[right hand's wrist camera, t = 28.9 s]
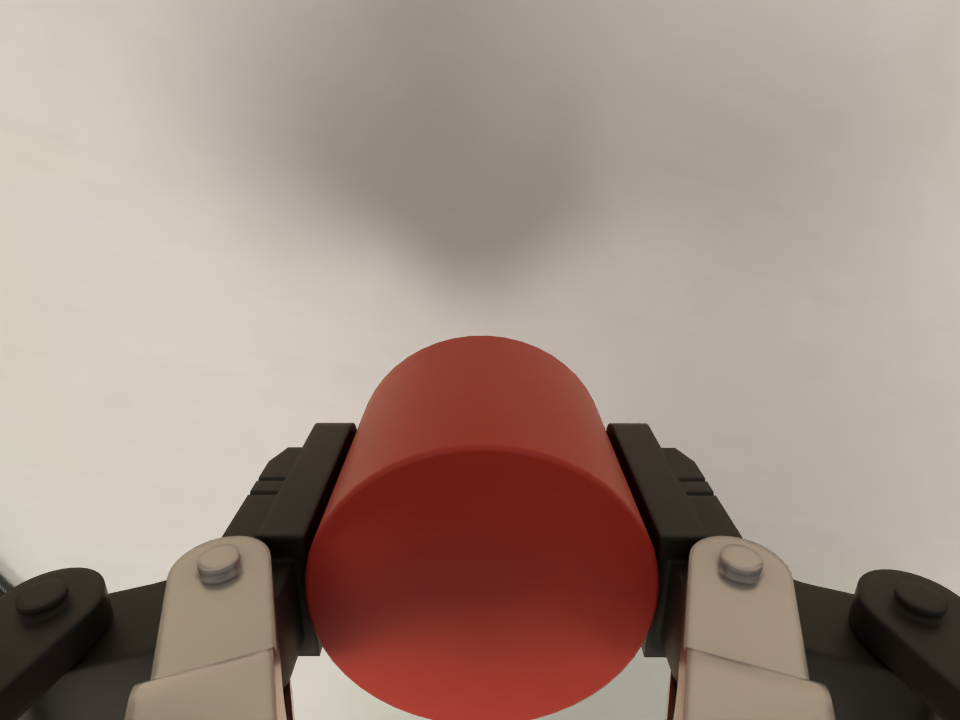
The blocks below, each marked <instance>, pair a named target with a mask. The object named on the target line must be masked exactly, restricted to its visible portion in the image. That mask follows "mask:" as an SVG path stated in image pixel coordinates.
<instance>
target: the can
mask: <svg viewBox="0 0 960 720" xmlns="http://www.w3.org/2000/svg"><path fill="white" fill-rule="evenodd" d="M658 595H659V568H658V564H657V559H656V554H655V550H654V547H653V545H652V542H651V540H650V537H649V535H648V532H647V530H646V528H645V525H644V523H643V520H642V518H641V515H640V513H639V511H638V508H637V506H636V503H635V501H634V498H633V496H632V494H631V491H630V489H629V486H628V484H627V481H626V479H625V476H624V474H623V472H622V469H621V467H620V464H619V462H618V459H617V457H616V455H615V452H614V450H613V447H612V445H611V442H610V440H609V438H608V435H607V433H606V430H605V428H604V425H603V423H602V421H601V418H600V416H599V413H598V411H597V408H596V406H595V403H594V401H593V399H592V397H591V396H590V394H589V392H588V391H587V389H586V387H585V386H584V385H583V383H582V382H581V381H580V380H579V378H578V377H577V376H576V375H575V374H574V373H573V372H572V371H571V370H570V369H569V368H568V367H567V366H566V365H565V364H563V363H562V362H560V361H559V360H558V359H556V358H555V357H553V356H552V355H550V354H548V353H546V352H545V351H543V350H541V349H539V348H537V347H534V346H532V345H529V344H526V343H524V342H521V341H517V340H513V339H508V338H503V337H494V336H468V337H461V338H454V339H450V340H446V341H442V342H439V343H436V344H433V345H431V346H429V347H426V348H424V349H421V350H420V351H418V352H416V353H414V354H413V355H411V356H409V357H408V358H406V359H405V360H404V361H402V362H401V363H400V364H398V365H397V366H396V367H395V368H394V369H393V370H392V371H391V372H390V373H389V374H388V375H387V376H386V377H385V378H384V379H383V380H382V382H381V383H380V384H379V386H378V387H377V388H376V390H375V391H374V393H373V395H372V397H371V399H370V400H369V402H368V404H367V407H366V409H365V412H364V414H363V417H362V419H361V422H360V424H359V427H358V429H357V432H356V434H355V437H354V439H353V442H352V444H351V447H350V449H349V452H348V454H347V457H346V459H345V462H344V464H343V467H342V470H341V472H340V475H339V477H338V480H337V482H336V485H335V487H334V490H333V492H332V495H331V497H330V500H329V502H328V505H327V507H326V510H325V512H324V515H323V517H322V520H321V522H320V525H319V527H318V530H317V532H316V535H315V537H314V540H313V543H312V546H311V548H310V551H309V554H308V559H307V565H306V570H305V596H306V602H307V609H308V613H309V616H310V620H311V623H312V626H313V629H314V631H315V633H316V635H317V637H318V639H319V641H320V643H321V645H322V647H323V648H324V649H325V651H326V652H327V654H328V655H329V656H330V658H331V659H332V661H333V662H334V663H335V664H336V665H337V666H338V667H339V668H340V669H341V671H342V672H343V673H344V674H345V675H346V676H347V677H349V678H350V679H351V680H352V681H353V682H355V683H356V684H357V685H358V686H359V687H361V688H362V689H364V690H365V691H367V692H368V693H370V694H371V695H373V696H374V697H376V698H377V699H379V700H381V701H383V702H385V703H387V704H389V705H391V706H393V707H395V708H398V709H400V710H403V711H406V712H408V713H411V714H413V715H417V716H421V717H424V718H428V719H432V720H531V719H536V718H539V717H543V716H546V715H549V714H553V713H556V712H558V711H560V710H563V709H565V708H568V707H570V706H572V705H575V704H576V703H578V702H580V701H582V700H584V699H586V698H587V697H589V696H591V695H593V694H594V693H595V692H597V691H598V690H600V689H601V688H603V687H604V686H605V685H607V684H608V683H609V682H610V681H611V680H613V679H614V678H615V677H616V676H617V675H618V674H619V673H620V672H622V670H623V669H624V668H625V667H626V666H627V665H628V664H629V662H630V661H631V660H632V659H633V658H634V656H635V655H636V653H637V652H638V650H639V649H640V647H641V646H642V644H643V643H644V641H645V639H646V637H647V634H648V632H649V630H650V628H651V626H652V623H653V619H654V616H655V612H656V609H657V603H658Z"/></svg>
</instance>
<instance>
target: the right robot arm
mask: <svg viewBox="0 0 960 720" xmlns="http://www.w3.org/2000/svg"><path fill="white" fill-rule="evenodd" d="M356 432H357V429H356V426H355V424H354V423H316V424H315V425H314V427H313V429H312V431H311V433H310V434H309V436H308V438H307V440H306V442H305V444H304V445H303V447H288V448H287V449H286V450H284V451H283V452H281V453H280V454H279V455H277V456H276V457H274V458H273V459H272V460H270V461H269V462H268V464H267V465H266V467H265V469H264V470H263V472H262V473H261V475H260V477H259V481H256V483H255V485H254V486H253V488H252V490H251V491H250V495H248V496H247V498H246V499H245V501H244V502H243V504H242V506H241V507H240V509H239V510H238V512H237V514H236V515H235V517H234V518H233V520H232V522H231V523H230V525H229V526H228V528H227V530H226V531H225V533H224V535H223V536H222V538H218V539H214V540H211V541H208V542H206V543H203V544H201V545H199V546H197V547H195V548H193V549H192V550H190V551H188V552H187V553H186V554H184V555H183V556H182V557H181V558H180V559H179V560H177V561H176V563H175V564H174V565H173V566H172V568H171V570H170V572H169V574H168V577H167V580H165V581H162V582H159V583H155V584H151V585H146V586H142V587H137V588H133V589H128V590H124V591H119V592H114V593H110V594H108V592H107V588H106V585H105V581H104V579H103V577H102V576H101V575H100V574H99V573H98V572H96V571H94V570H91V569H88V568H66V569H60V570H55V571H51V572H48V573H45V574H42V575H39V576H36V577H34V578H31V579H29V580H27V581H25V582H23V583H21V584H19V585H18V586H16V587H14V588H12V589H11V590H9V591H8V592H6V593H4V592H3V591H2V590H1V589H0V720H295V716H294V705H293V694H292V686H291V680H290V677H291V675H292V672H293V669H294V666H295V663H296V660H297V657H298V656H320V653H321V650H322V645H321V643H320V641H319V639H318V637H317V635H316V633H315V631H314V629H313V626H312V623H311V620H310V616H309V613H308V609H307V602H306V596H305V570H306V565H307V559H308V554H309V551H310V548H311V546H312V543H313V540H314V537H315V535H316V532H317V530H318V527H319V525H320V522H321V520H322V517H323V515H324V512H325V510H326V507H327V505H328V502H329V500H330V497H331V495H332V492H333V490H334V487H335V485H336V482H337V480H338V477H339V475H340V472H341V470H342V467H343V464H344V462H345V459H346V457H347V454H348V452H349V449H350V447H351V444H352V442H353V439H354V437H355V434H356ZM606 433H607V435H608V438H609V440H610V442H611V445H612V447H613V450H614V452H615V455H616V457H617V459H618V462H619V464H620V467H621V469H622V472H623V474H624V476H625V479H626V481H627V484H628V486H629V489H630V491H631V494H632V496H633V498H634V501H635V503H636V506H637V508H638V511H639V513H640V515H641V518H642V520H643V523H644V525H645V528H646V530H647V532H648V535H649V537H650V540H651V542H652V545H653V547H654V550H655V554H656V559H657V564H658V568H659V595H658V603H657V609H656V612H655V616H654V619H653V623H652V626H651V628H650V630H649V632H648V634H647V637H646V639H645V641H644V643H643V644H642V646H641V647H642V651H643V654H644V657H667V660H668V663H669V666H670V669H671V674H670V680H669V686H668V694H667V705H666V716H665V720H960V597H959V596H958V595H956V594H955V593H953V592H952V591H950V590H949V589H947V588H945V587H943V586H942V585H940V584H938V583H936V582H933V581H931V580H929V579H926V578H924V577H921V576H918V575H915V574H912V573H908V572H903V571H898V570H884V569H882V570H874V571H871V572H868V573H866V574H864V575H863V576H862V577H861V578H860V579H859V581H858V584H857V587H856V591H855V594H850V593H846V592H841V591H836V590H832V589H827V588H823V587H818V586H814V585H810V584H806V583H802V582H799V581H796V580H794V579H793V577H792V574H791V572H790V570H789V568H788V566H787V565H786V564H785V563H784V561H783V560H781V559H780V558H779V557H778V556H777V555H776V554H774V553H773V552H772V551H770V550H768V549H767V548H765V547H763V546H761V545H759V544H757V543H754V542H752V541H749V540H746V539H743V538H742V536H741V535H740V533H739V532H738V530H737V529H736V527H735V525H734V524H733V522H732V521H731V519H730V517H729V516H728V514H727V513H726V511H725V509H724V508H723V506H722V505H721V503H720V502H719V500H718V498H717V497H716V496H714V494H713V490H712V489H711V487H710V486H709V484H708V483H707V482H705V478H704V476H703V475H702V473H701V471H700V470H699V468H698V467H697V465H696V464H695V462H694V461H692V460H691V459H690V458H688V457H687V456H685V455H684V454H683V453H681V452H680V451H678V450H677V449H676V448H661V447H660V445H659V443H658V442H657V440H656V438H655V436H654V434H653V433H652V431H651V429H650V427H649V426H648V424H646V423H610V424H608V426H607V430H606Z"/></svg>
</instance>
